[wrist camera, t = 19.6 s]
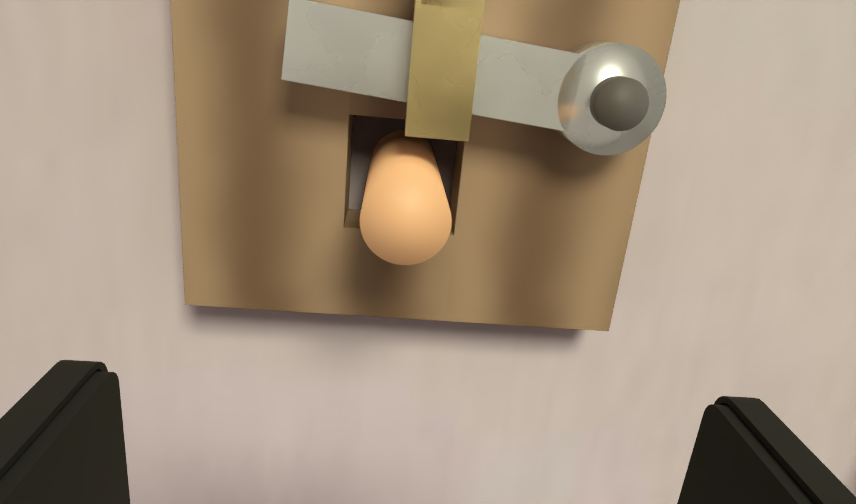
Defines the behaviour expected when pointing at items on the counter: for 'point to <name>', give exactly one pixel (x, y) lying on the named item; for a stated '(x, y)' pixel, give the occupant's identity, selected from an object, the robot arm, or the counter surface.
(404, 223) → the lock pin
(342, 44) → the latch bar
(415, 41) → the keeper
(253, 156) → the base plate
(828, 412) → the counter surface
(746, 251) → the counter surface
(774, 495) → the robot arm
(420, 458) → the counter surface
